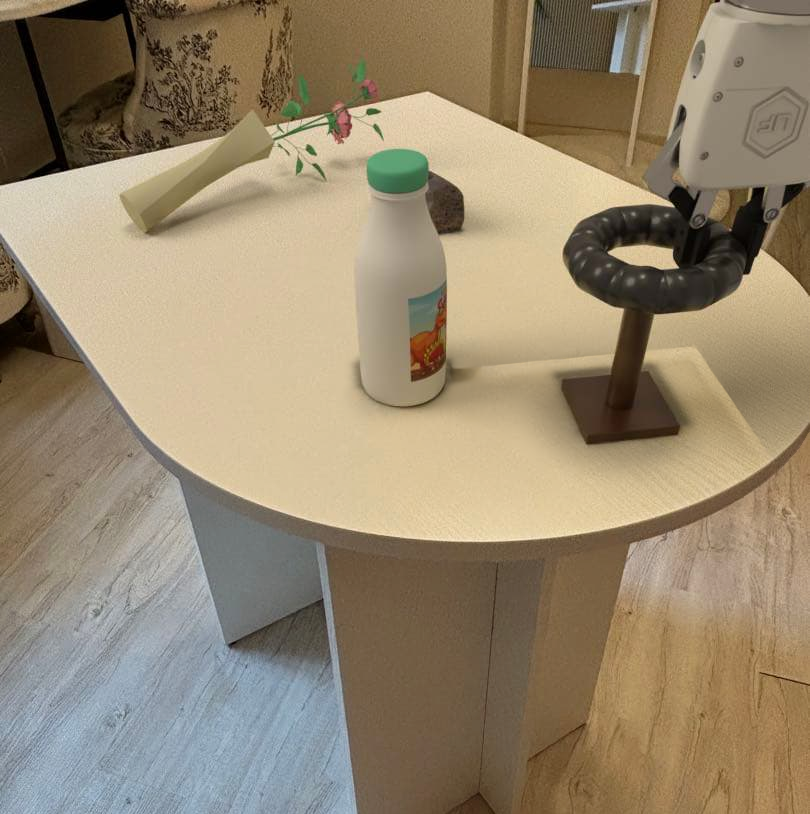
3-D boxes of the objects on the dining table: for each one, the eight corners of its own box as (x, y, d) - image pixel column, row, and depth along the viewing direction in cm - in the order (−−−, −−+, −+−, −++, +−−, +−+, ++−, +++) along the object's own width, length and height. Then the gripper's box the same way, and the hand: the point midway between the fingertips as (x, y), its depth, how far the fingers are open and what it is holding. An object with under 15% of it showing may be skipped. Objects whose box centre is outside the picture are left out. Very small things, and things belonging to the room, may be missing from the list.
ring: (698, 228, 65) (707, 192, 63) (769, 312, 56) (782, 273, 54) (543, 242, 64) (547, 205, 62) (591, 329, 55) (597, 290, 53)
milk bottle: (381, 418, 70) (368, 188, 55) (349, 371, 74) (329, 149, 60) (460, 395, 72) (468, 168, 57) (423, 351, 76) (422, 131, 62)
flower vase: (157, 274, 103) (361, 141, 112) (191, 284, 94) (410, 138, 103) (102, 185, 96) (325, 51, 105) (132, 187, 86) (373, 40, 95)
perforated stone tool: (357, 210, 98) (353, 151, 92) (392, 198, 100) (390, 140, 95) (432, 256, 89) (432, 195, 84) (468, 242, 91) (470, 181, 86)
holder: (646, 379, 73) (679, 243, 63) (678, 434, 67) (719, 295, 58) (560, 388, 72) (581, 252, 63) (586, 444, 67) (612, 305, 57)
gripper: (680, 5, 44) (621, 304, 57) (959, -12, 45) (838, 284, 59) (635, -27, 49) (591, 254, 63) (888, -42, 50) (791, 237, 64)
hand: (711, 266), depth 60 cm, fingers closed on ring, 3 cm apart
